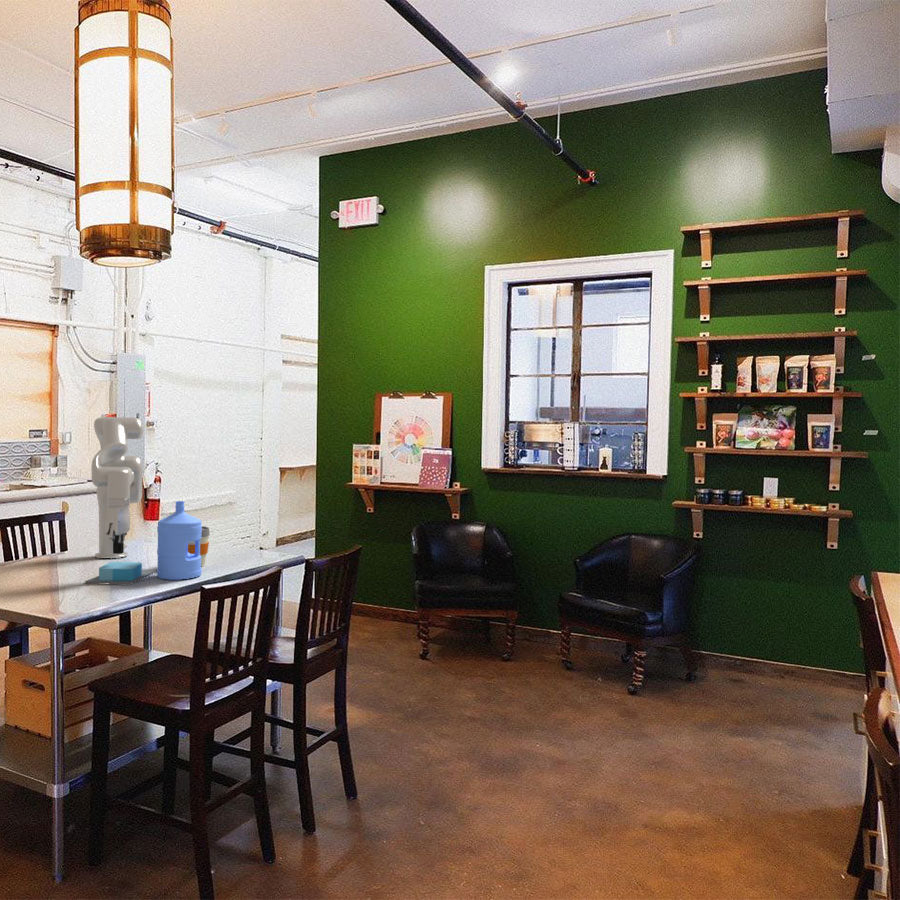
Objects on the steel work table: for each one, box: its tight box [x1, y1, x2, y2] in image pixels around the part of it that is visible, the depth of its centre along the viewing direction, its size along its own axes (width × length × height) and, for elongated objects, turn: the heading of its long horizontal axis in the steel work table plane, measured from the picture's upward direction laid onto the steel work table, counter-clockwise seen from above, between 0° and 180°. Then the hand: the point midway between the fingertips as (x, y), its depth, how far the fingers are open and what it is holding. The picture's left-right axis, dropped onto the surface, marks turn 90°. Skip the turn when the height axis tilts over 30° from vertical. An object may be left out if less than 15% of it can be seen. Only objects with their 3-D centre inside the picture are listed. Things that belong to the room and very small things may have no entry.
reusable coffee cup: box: [188, 525, 210, 567], centre depth 305 cm, size 13×13×15 cm
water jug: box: [156, 500, 203, 581], centre depth 285 cm, size 16×16×28 cm
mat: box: [84, 569, 158, 585], centre depth 281 cm, size 22×16×1 cm
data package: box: [98, 561, 143, 581], centre depth 278 cm, size 12×4×12 cm
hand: (118, 553), depth 277 cm, fingers closed
